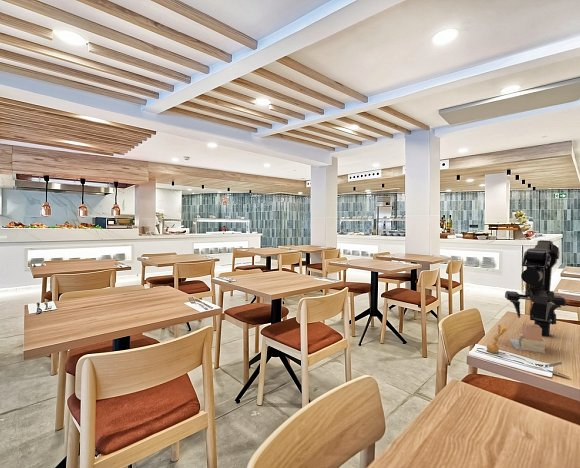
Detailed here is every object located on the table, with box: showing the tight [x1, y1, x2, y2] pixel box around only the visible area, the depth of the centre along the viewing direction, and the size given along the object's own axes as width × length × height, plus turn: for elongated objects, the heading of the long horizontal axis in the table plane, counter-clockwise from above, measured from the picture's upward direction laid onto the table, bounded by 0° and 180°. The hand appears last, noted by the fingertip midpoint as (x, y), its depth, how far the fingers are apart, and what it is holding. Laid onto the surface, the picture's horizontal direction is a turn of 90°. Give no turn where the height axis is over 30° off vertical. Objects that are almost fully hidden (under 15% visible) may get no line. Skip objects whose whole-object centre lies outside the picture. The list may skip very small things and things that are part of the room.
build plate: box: [508, 338, 547, 354], centre depth 131 cm, size 12×10×1 cm
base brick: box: [518, 333, 546, 353], centre depth 129 cm, size 7×7×4 cm
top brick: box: [521, 322, 543, 341], centre depth 128 cm, size 5×5×5 cm
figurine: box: [486, 323, 507, 354], centre depth 123 cm, size 8×6×12 cm
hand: (532, 319), depth 128 cm, fingers open, 9 cm apart
